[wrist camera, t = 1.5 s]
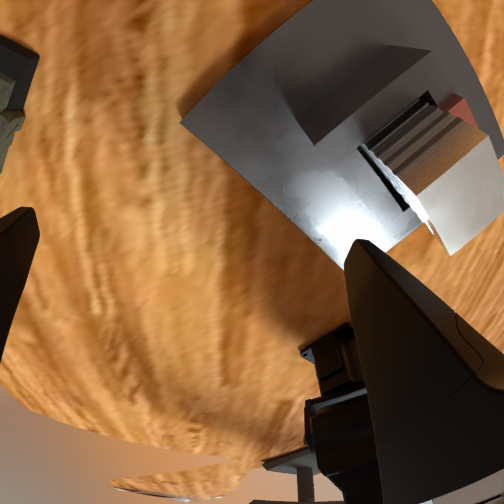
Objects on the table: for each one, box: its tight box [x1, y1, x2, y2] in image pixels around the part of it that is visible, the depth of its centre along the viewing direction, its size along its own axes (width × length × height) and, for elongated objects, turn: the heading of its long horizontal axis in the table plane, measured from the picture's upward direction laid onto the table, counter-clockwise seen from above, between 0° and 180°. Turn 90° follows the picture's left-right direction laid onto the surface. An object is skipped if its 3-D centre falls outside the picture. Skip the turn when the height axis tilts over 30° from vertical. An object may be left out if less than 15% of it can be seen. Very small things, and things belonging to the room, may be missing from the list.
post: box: [359, 98, 504, 256], centre depth 14 cm, size 4×4×10 cm
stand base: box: [180, 0, 504, 270], centre depth 17 cm, size 18×18×7 cm
